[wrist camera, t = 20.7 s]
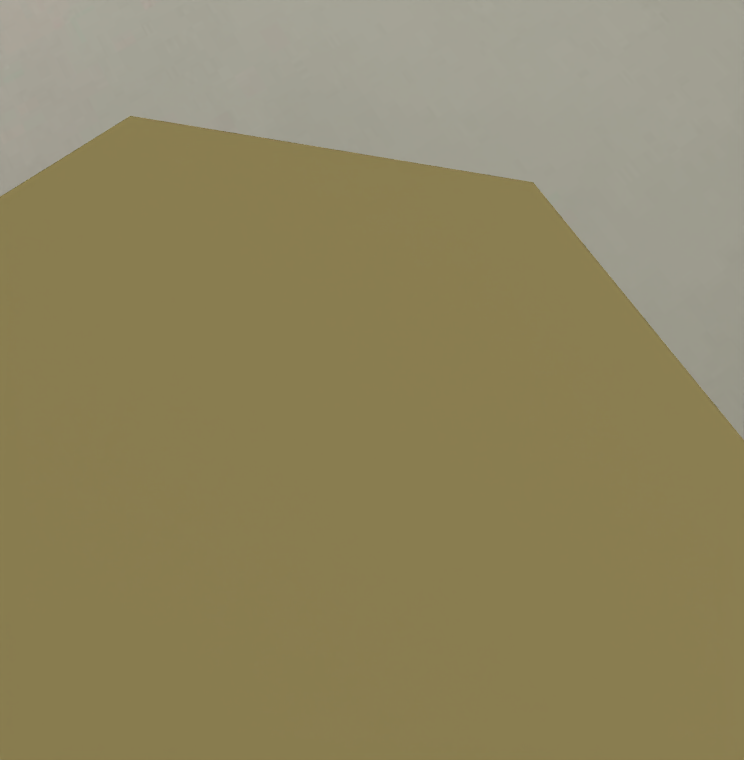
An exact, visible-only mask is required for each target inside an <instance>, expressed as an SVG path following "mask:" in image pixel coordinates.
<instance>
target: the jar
mask: <svg viewBox="0 0 744 760" xmlns="http://www.w3.org/2000/svg"><path fill="white" fill-rule="evenodd" d="M0 760H744V440H743V439H742V438H741V436H740V435H739V434H738V433H737V431H736V430H735V429H734V428H733V427H732V425H731V424H730V423H729V422H728V420H727V419H726V418H725V417H724V415H723V414H722V413H721V412H720V411H719V409H718V408H717V407H716V406H715V404H714V403H713V402H712V401H711V400H710V398H709V397H708V396H707V395H706V393H705V392H704V391H703V390H702V389H701V387H700V386H699V385H698V384H697V382H696V381H695V380H694V379H693V378H692V376H691V375H690V374H689V373H688V371H687V370H686V369H685V368H684V367H683V365H682V364H681V363H680V362H679V360H678V359H677V358H676V357H675V356H674V354H673V353H672V352H671V351H670V349H669V348H668V347H667V346H666V344H665V343H664V342H663V341H662V340H661V338H660V337H659V336H658V335H657V333H656V332H655V331H654V330H653V329H652V327H651V326H650V325H649V324H648V322H647V321H646V320H645V319H644V318H643V316H642V315H641V314H640V313H639V311H638V310H637V309H636V308H635V307H634V305H633V304H632V303H631V302H630V300H629V299H628V298H627V297H626V296H625V294H624V293H623V292H622V291H621V289H620V288H619V287H618V286H617V285H616V283H615V282H614V281H613V280H612V278H611V277H610V276H609V275H608V274H607V272H606V271H605V270H604V269H603V267H602V266H601V265H600V264H599V262H598V261H597V260H596V259H595V258H594V256H593V255H592V254H591V253H590V251H589V250H588V249H587V248H586V247H585V245H584V244H583V243H582V242H581V240H580V239H579V238H578V237H577V236H576V234H575V233H574V232H573V231H572V229H571V228H570V227H569V226H568V225H567V223H566V222H565V221H564V220H563V218H562V217H561V216H560V215H559V214H558V212H557V211H556V210H555V209H554V207H553V206H552V205H551V204H550V203H549V201H548V200H547V199H546V198H545V196H544V195H543V194H542V193H541V192H540V190H539V189H538V188H537V187H536V185H535V184H534V183H533V182H527V181H521V180H515V179H509V178H503V177H497V176H491V175H485V174H479V173H473V172H467V171H461V170H455V169H449V168H443V167H437V166H431V165H424V164H418V163H412V162H406V161H400V160H394V159H388V158H382V157H376V156H370V155H364V154H358V153H352V152H346V151H340V150H334V149H328V148H321V147H315V146H309V145H303V144H297V143H291V142H285V141H279V140H273V139H267V138H261V137H255V136H249V135H243V134H237V133H231V132H224V131H218V130H212V129H206V128H200V127H194V126H188V125H182V124H176V123H170V122H164V121H158V120H152V119H146V118H140V117H134V116H130V117H128V118H126V119H125V120H123V121H122V122H120V123H118V124H117V125H115V126H113V127H112V128H110V129H109V130H107V131H105V132H104V133H102V134H101V135H99V136H97V137H96V138H94V139H93V140H91V141H89V142H88V143H86V144H84V145H83V146H81V147H80V148H78V149H76V150H75V151H73V152H72V153H70V154H68V155H67V156H65V157H64V158H62V159H60V160H59V161H57V162H55V163H54V164H52V165H51V166H49V167H47V168H46V169H44V170H43V171H41V172H39V173H38V174H36V175H35V176H33V177H31V178H30V179H28V180H26V181H25V182H23V183H22V184H20V185H18V186H17V187H15V188H14V189H12V190H10V191H9V192H7V193H6V194H4V195H2V196H1V197H0Z"/></svg>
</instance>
